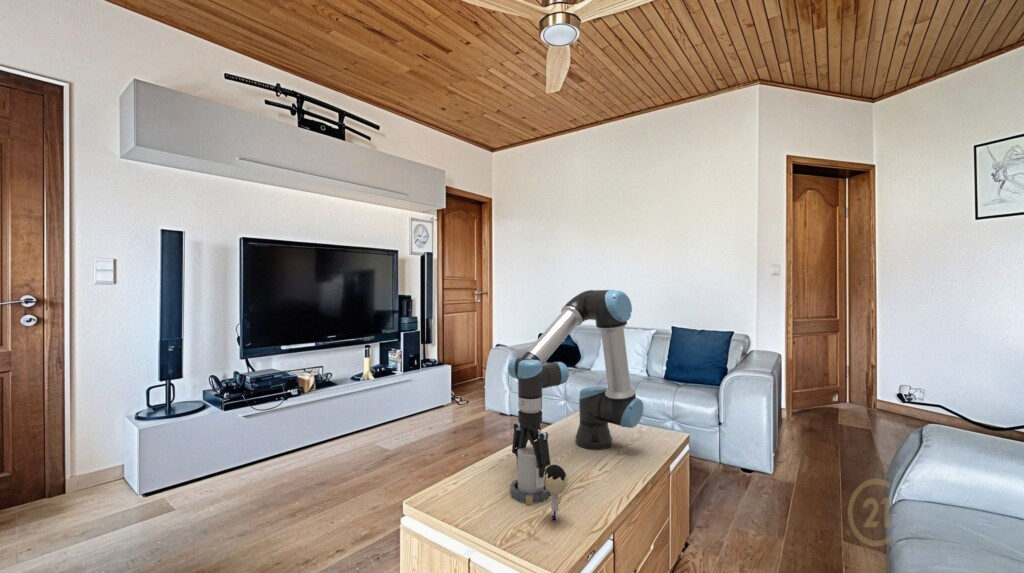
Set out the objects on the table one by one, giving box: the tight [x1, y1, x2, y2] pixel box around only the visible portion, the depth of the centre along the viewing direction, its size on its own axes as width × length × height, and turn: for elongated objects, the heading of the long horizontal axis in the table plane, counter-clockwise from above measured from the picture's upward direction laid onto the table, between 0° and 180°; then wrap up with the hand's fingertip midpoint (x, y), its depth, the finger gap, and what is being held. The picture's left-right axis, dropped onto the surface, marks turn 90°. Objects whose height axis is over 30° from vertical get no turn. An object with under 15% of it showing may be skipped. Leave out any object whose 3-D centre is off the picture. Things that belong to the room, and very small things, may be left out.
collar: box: [509, 478, 551, 506], centre depth 137 cm, size 12×12×2 cm
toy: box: [543, 464, 568, 521], centre depth 122 cm, size 9×7×15 cm
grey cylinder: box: [517, 445, 544, 494], centre depth 137 cm, size 8×8×12 cm
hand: (530, 481), depth 137 cm, fingers closed on grey cylinder, 8 cm apart
